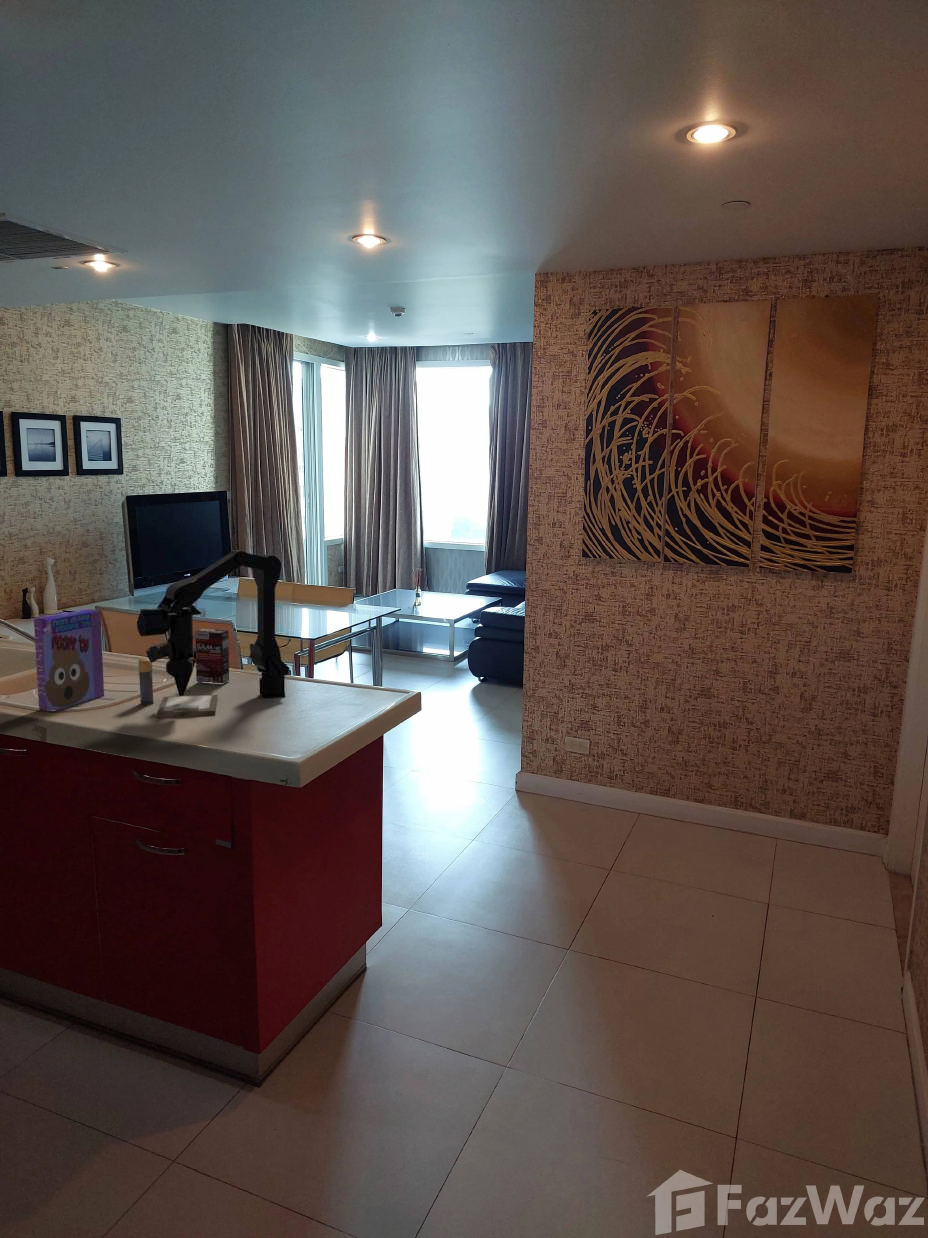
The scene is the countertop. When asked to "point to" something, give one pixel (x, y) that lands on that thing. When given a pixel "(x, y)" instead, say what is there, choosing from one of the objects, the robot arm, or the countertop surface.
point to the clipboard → (187, 706)
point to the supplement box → (212, 655)
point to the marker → (145, 681)
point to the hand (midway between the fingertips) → (182, 691)
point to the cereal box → (69, 659)
